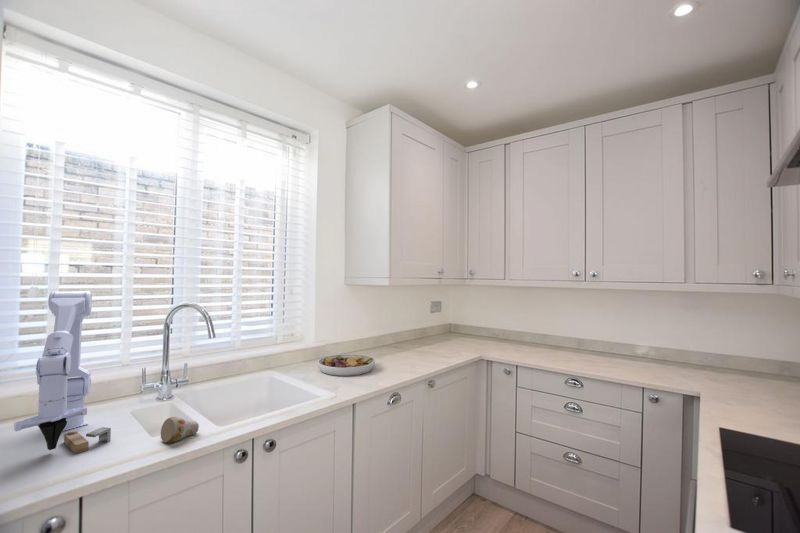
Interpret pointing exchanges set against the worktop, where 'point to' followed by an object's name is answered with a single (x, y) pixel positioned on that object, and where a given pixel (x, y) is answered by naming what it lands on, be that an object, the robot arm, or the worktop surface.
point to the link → (75, 441)
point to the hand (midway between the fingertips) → (51, 448)
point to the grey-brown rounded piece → (177, 429)
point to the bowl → (346, 365)
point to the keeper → (101, 434)
